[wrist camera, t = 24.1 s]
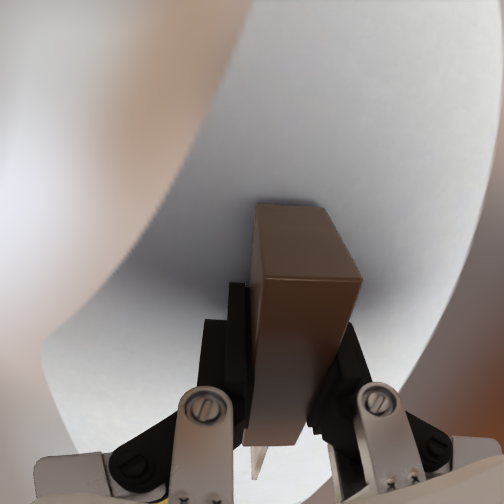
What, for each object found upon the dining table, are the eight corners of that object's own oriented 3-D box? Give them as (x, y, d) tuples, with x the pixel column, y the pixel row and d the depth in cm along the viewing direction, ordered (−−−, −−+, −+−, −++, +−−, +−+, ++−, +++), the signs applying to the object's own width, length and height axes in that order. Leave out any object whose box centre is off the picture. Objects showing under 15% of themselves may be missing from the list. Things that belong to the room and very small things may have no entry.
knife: (255, 202, 9) (262, 276, 6) (324, 206, 9) (365, 279, 6) (236, 437, 16) (236, 487, 13) (268, 437, 16) (272, 486, 13)
